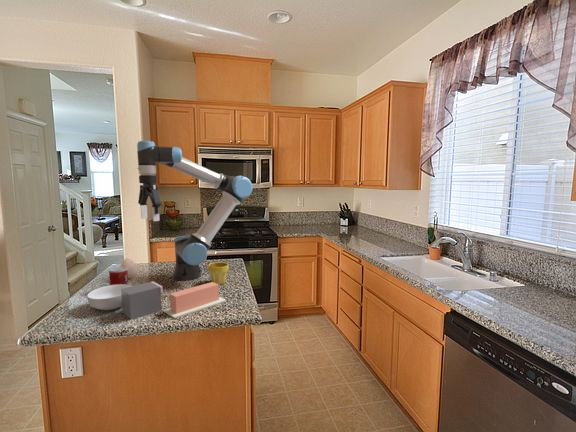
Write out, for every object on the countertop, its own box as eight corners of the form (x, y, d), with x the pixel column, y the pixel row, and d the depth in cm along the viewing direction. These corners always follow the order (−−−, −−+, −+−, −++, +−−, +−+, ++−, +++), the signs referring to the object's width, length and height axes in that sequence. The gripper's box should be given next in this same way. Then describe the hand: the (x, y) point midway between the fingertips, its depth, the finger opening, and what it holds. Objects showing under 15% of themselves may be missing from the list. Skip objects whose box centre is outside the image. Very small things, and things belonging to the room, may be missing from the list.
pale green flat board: (213, 295, 144) (213, 294, 144) (226, 301, 137) (226, 299, 137) (163, 311, 127) (163, 309, 127) (174, 318, 120) (174, 317, 120)
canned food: (121, 294, 147) (119, 271, 145) (106, 293, 148) (105, 270, 147) (132, 288, 154) (131, 267, 153) (118, 287, 156) (116, 266, 154)
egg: (140, 276, 173) (138, 256, 171) (129, 281, 165) (128, 260, 164) (128, 275, 175) (126, 256, 173) (117, 280, 167) (115, 259, 166)
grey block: (154, 303, 135) (152, 281, 134) (163, 309, 128) (162, 286, 127) (122, 312, 126) (120, 288, 125) (131, 319, 119) (129, 294, 118)
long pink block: (212, 296, 141) (212, 281, 140) (219, 299, 137) (218, 284, 137) (170, 310, 127) (169, 293, 126) (176, 313, 123) (175, 296, 122)
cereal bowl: (104, 299, 141) (103, 283, 140) (140, 299, 140) (139, 284, 140) (78, 315, 124) (77, 298, 123) (119, 315, 124) (118, 298, 123)
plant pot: (232, 280, 166) (232, 262, 164) (222, 286, 156) (221, 267, 155) (215, 278, 169) (215, 261, 168) (204, 284, 159) (204, 266, 158)
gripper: (129, 175, 151) (132, 218, 154) (150, 174, 134) (153, 222, 137) (145, 175, 157) (147, 216, 159) (167, 174, 140) (169, 221, 142)
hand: (150, 219), depth 148 cm, fingers open, 13 cm apart
